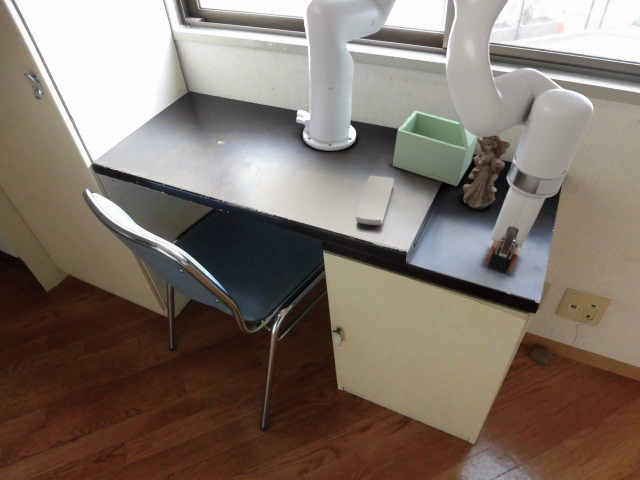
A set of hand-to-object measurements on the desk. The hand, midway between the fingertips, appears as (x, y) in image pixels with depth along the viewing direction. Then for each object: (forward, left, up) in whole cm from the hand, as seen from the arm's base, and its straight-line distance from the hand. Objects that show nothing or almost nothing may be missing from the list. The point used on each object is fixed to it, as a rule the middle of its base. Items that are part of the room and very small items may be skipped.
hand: (501, 259), depth 83 cm
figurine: (-9, +15, -1) cm, 17 cm away
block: (0, 0, 0) cm, 0 cm away
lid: (-17, +22, +16) cm, 32 cm away
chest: (-21, +22, -1) cm, 31 cm away
